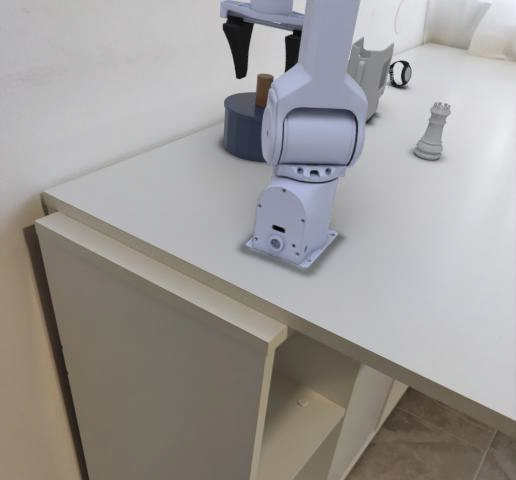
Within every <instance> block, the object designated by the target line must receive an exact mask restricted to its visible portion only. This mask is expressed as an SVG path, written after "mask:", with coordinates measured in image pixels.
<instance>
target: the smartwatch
mask: <svg viewBox="0 0 516 480" xmlns="http://www.w3.org/2000/svg"><path fill="white" fill-rule="evenodd" d="M398 63H400V64H402V65H403V66H402V69H401V72H400V80H401V84H397V82H396V81H395V78H394V67H395V65H396V64H398ZM412 70H413V69H412V67H411V65H410V62H409V61H406V60H397V61H394V62H391V64H390V68H389V72H388V75H389V81H390V84H391V85H392V87H394V88H400V87H403V86H404V87H405V86H406V85H408V83H409V82H410V81H411V78H412V73H413V71H412Z"/></svg>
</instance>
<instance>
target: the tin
mask: <svg viewBox="0 0 516 480" xmlns="http://www.w3.org/2000/svg"><path fill="white" fill-rule="evenodd" d="M223 122H224V123H223V142H222V143H223V147H224V149H225V150H226V151H227V152H228V153H229V154H232V155H233V156H236V157H238V158H241V159H244V160H248V161H253V162H266V160H265V159H264V157H263V153H262V140H261V135H262V122H260V121H253V120H248V119H244V118H241V117H238V116H236V115H233V114H231V113H230V112H228V111H227V110H226V109H225V108H224V121H223Z"/></svg>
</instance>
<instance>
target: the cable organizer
mask: <svg viewBox="0 0 516 480" xmlns="http://www.w3.org/2000/svg"><path fill="white" fill-rule="evenodd" d="M364 44H365V37H364V36H361V37H360V38H358V39H357V40H355V41H354V42H352V45H351V50H350V56H349V61H348V66H347V71H346V72H347V73H348V74H349V75H350V76H351V77H352V78H353V79H354V80H355V81H356V83H357V84H358V85H359V86H360V87H361V88H362V90H363V91H364V93H365V95H366V99H367V102H368V109H367V115H366V122H367V121H368V120H370V118H371V117H372V116H373V115H374V114H375V113H376V112H377V110H378V106H379V102H380V98H381V97H383V95H384V93H385V89H386V85H387V81H388V76H389V73H388V72H389V68H390V65H391V64H392V60H393V55H394V48H395V42H392V43H391V44H389V45H388V46H387V47H386V48H385V49H382V50H381V49H380V50H374V49H372V50H371V49H365V48H364Z"/></svg>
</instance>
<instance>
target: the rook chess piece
mask: <svg viewBox="0 0 516 480" xmlns="http://www.w3.org/2000/svg"><path fill="white" fill-rule="evenodd" d="M429 111H430V114H431V115H430V117H429V118H428V124H427V127H426V129H425V131H424V134H423V135H422V136H421V137H420V139H419V140H418V141H417V142H416V144H415V146H416V147H414V150H413V151H414V154H415V156H417V157H418V158H420V159H423V160H426V161H427V160H428V161H436V160H438V159H439V158H441V157H442V153H441V152H443V150H444V145H442V143H443V141H442V137H443V132H444V131H443V130H444V127H445V125H446V124H447V118H448V117H449V116H450V115H451V114H452V111H451V104H449V103H447V102H444V103H443V102H442V101H436V102H434V103H433V105H432V106H431V107H430V109H429Z"/></svg>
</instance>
